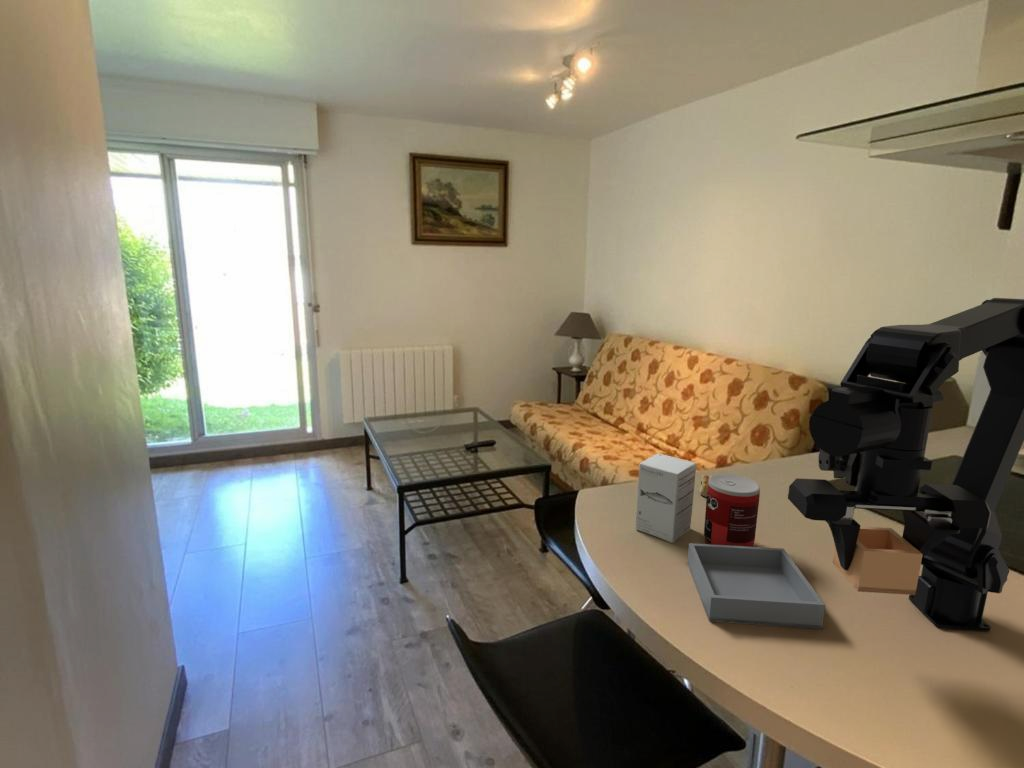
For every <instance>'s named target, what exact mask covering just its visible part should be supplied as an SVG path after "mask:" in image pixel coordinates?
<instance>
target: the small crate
mask: <svg viewBox="0 0 1024 768" xmlns="http://www.w3.org/2000/svg"><path fill="white" fill-rule="evenodd" d="M922 555H923V554H922V553H921V552H919V551H918V550H917V549H916V548H915V547H913V546H912V545H911V544H910V543H909V542H907V541H906V540H905V539H904V538H903V537H902V535H900V534H899V533H897V531H895V530H894V529H893V528H891V527H876V526H860V531H859V535H858V539H857V543H856V547H855V551H854V555H853V559H852V562H851V565H850V567H849V569H848V570H844V569H843V568H842V567H841V565H840V562H839V558H838V554H837V551H836V547H834V552H833V558H832V559H833V560H832V563H833V564H834V566H835V567H836V568H837V569H838V571H840V573H841V574H842V575H843V576H844V577H845V579H847V581H848V582H849V583H850V585H851V586H852V587H853V588H854V589H855V590H856V591H857V592H861V593H876V594H890V595H891V594H892V595H894V594H895V595H908V596H909V595H915V593H916V588H917V583H918V577H919V576H920V572H921V571H920V570H921V566H922V565H921V561H922Z"/></svg>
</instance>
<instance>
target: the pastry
mask: <svg viewBox="0 0 1024 768" xmlns="http://www.w3.org/2000/svg"><path fill="white" fill-rule="evenodd" d="M714 475H715V474H711V475H708V474H702V476H701V480H700V485H701V486H700V488H699V490H698V491H699V492H698V493H699V494H700V495H701V496H703V497H705V498H707V488H708V481H709V478H710V477H711V476H714Z"/></svg>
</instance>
